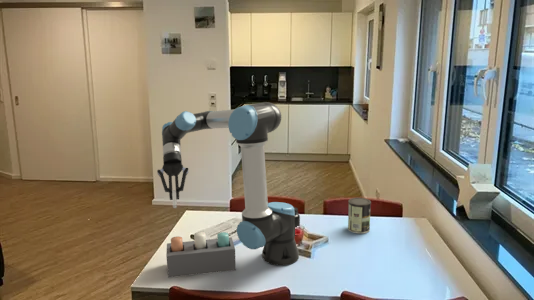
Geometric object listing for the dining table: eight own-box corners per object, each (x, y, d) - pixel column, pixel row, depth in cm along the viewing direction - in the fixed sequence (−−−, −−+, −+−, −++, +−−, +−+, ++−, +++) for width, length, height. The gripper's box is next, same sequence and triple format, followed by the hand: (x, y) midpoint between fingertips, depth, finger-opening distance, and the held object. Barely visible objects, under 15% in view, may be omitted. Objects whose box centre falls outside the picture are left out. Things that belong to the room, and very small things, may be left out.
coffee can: (367, 224, 217) (368, 197, 214) (371, 233, 207) (373, 204, 204) (346, 224, 218) (346, 197, 214) (349, 233, 208) (350, 205, 204)
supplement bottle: (298, 236, 206) (298, 211, 203) (284, 235, 207) (283, 210, 204) (300, 230, 212) (300, 206, 209) (286, 229, 213) (286, 205, 211)
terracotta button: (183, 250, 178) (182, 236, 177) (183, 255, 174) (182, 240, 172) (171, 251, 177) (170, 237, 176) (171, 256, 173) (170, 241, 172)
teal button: (228, 245, 181) (227, 231, 180) (229, 250, 177) (229, 236, 176) (217, 246, 181) (216, 232, 179) (218, 251, 176) (217, 237, 175)
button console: (232, 257, 186) (231, 237, 184) (235, 270, 176) (235, 249, 174) (168, 264, 182) (166, 243, 179) (167, 277, 171) (166, 255, 169)
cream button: (205, 245, 179) (205, 231, 178) (206, 250, 175) (205, 236, 174) (194, 246, 179) (193, 232, 177) (195, 251, 174) (194, 237, 173)
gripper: (187, 159, 195) (191, 209, 183) (157, 161, 193) (158, 211, 181) (187, 150, 189) (191, 201, 177) (155, 152, 186) (157, 203, 174)
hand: (174, 206), depth 179 cm, fingers closed
